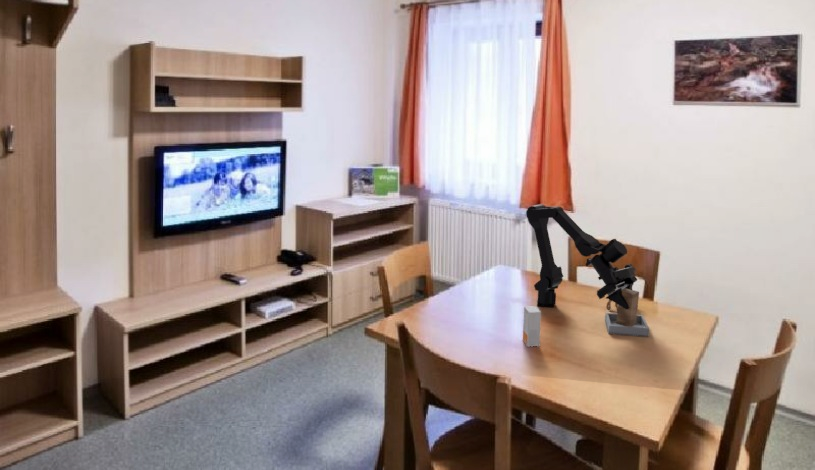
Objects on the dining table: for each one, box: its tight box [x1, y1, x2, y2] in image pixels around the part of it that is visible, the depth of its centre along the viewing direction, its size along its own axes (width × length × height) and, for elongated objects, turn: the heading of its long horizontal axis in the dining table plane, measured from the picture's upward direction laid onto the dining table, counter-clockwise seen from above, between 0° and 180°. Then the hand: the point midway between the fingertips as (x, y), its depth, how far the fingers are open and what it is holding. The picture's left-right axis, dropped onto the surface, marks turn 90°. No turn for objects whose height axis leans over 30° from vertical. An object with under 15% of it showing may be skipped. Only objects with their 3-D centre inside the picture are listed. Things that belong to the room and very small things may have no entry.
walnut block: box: [616, 289, 640, 327], centre depth 215 cm, size 5×4×12 cm
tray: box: [604, 312, 650, 338], centre depth 216 cm, size 13×13×3 cm
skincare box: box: [522, 305, 542, 348], centre depth 202 cm, size 6×4×12 cm
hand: (631, 307), depth 214 cm, fingers closed on walnut block, 4 cm apart
